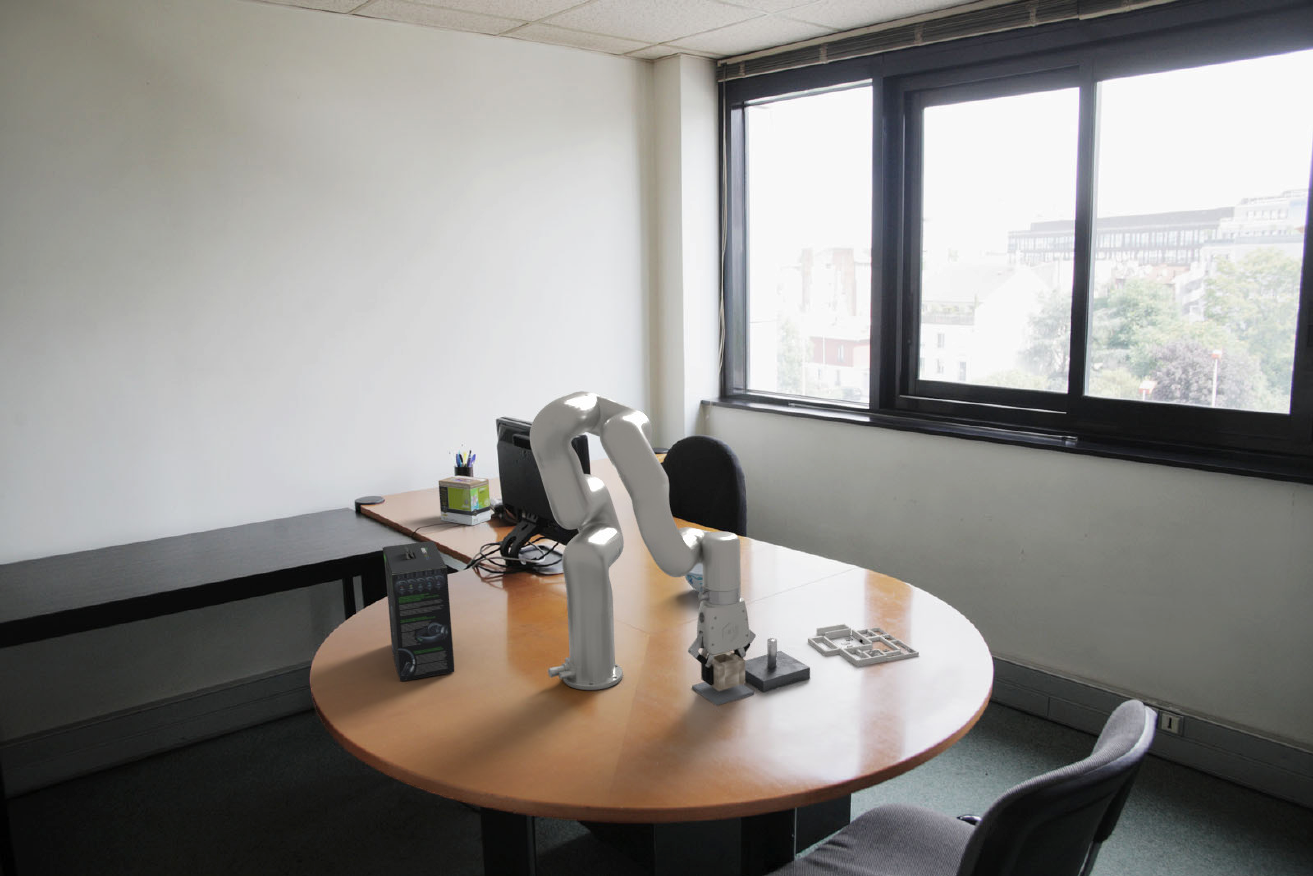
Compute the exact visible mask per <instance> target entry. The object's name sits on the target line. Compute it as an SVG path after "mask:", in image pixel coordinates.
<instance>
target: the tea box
mask: <svg viewBox="0 0 1313 876" xmlns="http://www.w3.org/2000/svg"><path fill="white" fill-rule="evenodd" d="M489 481H490V480H489V478H483V477H482V478H481V477H474V476H466V475H454V476H451V477H447V478H443V479H439V480H438V492H439V493H438V494H439V496H438V497H439V509H440V519H441V520H440V521H443V522H448V523H455V524H461V525H466V526H467V525H468V526H475V525H479V524H481V523H485V522H488V521H491V518H492V517H491V500H490V499H491V497H490V495H491V494H490V483H489Z"/></svg>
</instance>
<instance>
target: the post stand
mask: <svg viewBox="0 0 1313 876" xmlns="http://www.w3.org/2000/svg"><path fill="white" fill-rule="evenodd" d="M766 641H767V645H766V647H767V653H766V654H764V655H760V656H757V657H753V658H750V659H746V660H745V683H748V684H749V685H750V686H752V687H754V688H755V689H756V690H759V691H760V692H762V693H764V694H765V693H767V692H771V691H773V690H777V689H779V688H780V689H781V688H783V687H786V686H787V687H788V686H791V685H794V684H797V683H800V682H804V681H806V680H811V666H809V665H806V664H805V663H803V662H801V661H799V660H798V659H796V658H794V657H793V656H791V655H789V654H787V653H785V652H783V651H782V650H779V651H778V639H777V638H774V637H773V638H771V637H769V638H767V640H766Z"/></svg>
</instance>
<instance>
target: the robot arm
mask: <svg viewBox="0 0 1313 876" xmlns="http://www.w3.org/2000/svg"><path fill="white" fill-rule="evenodd" d="M585 433H588V434H591V435H594V436H597V437H598V438H599V442H600V443H601V446H602V447H601V448H602V449H603V450H604V452H605V454H606V456H607V457H608V460H609V461H610V463H611V465H612V466H613V468H614V470H615V472H616V474H617V475H618V477H619V479H620V481H621V482H622V484H623V486H624V488H625V490H626V492H627V494H628V495H629V497H630V499H631V504H632V510H633V513H634V517H635V521H636V524H637V528H638V531H639V533H640V536H641V539H642V541H643V543H644V545H645V546H646V548H647V550H648V552H649V553H650V555H651V557H652V559H653V561H654V562H655V565H657V567H658V568H659V569H660V570H661V571H662V572H663V573H664V574H666V575H668V576H669V577H673V578H681V577H685V575H687V574H688V573H690V572H691V571H692V569H693V568H694V567H695V565H697V564H699V563H700V564H702V566H703V588H702V593H700V594H699V593H698V595H697V597H698V600H700V604H699V607H698V608H699V609H698V614H697V627H696V638H695V640H694V641H693V642H692V643H691V645H690V646H689V648H688V650H687V653H688V654H690V655H691V656H692V657H693V658H694V659H695V660H697V661H698V662H699V663H700V664H701V663H702V679H703V680H702V681H703V682H704V681H705V682H706V683H708V684H709V685H713V684H714V670H713V666H711V664H712V661H713V658H714V655H718V654H722V653H725V652H729V651H731V652H732V651H733V653H734V654H736V655H737V656H739V657H741V658H742V659H744V658H746V655H747V651H748V650H749V649H750V648H751V644H752V642H753V641H754V640H755V638H756V634H755V632H754V631H752V630H751V629H750V626H749V625H750V624H749V616H748V610H747V605H746V600H745V598H744V597H742V591H741V590H742V589H741V587H742V586H741V584H742V583H741V580H742V579H741V578H742V576H741V575H742V573H741V540H740V538H739V536H738V535H737V534H736V533H734V532H729V531H721V530H720V531H709V530H704V529H700V528H695V527H691V526H685V527H680V528H678V526H677V524H676V522H675V520H674V517H673V514H672V511H671V507H670V482H669V481H670V480H669V476H668V474H667V473H666V471H665V469H664V467H663V465H662V463H661V462H660V461H659V458H658V457H657V454H656V453H655V452H654V450H653V447H652V446H651V443H649V441H650V439H651V437H652V435H653V427H652V424H651V421H650V420H649V418H648V416H647V415H646V414H644V412H642V411H640V410H638V409H637V408H634V407H631V406H628V405H626V404H624V403H621V402H618V401H615V400H613V399H609V398H608V397H604V396H602V395H599V394H596V393H593V392H591V391H590V392H589V391H576V392H572V393H569V394H568V395H564V396H561V397H559V398H556V399H554V400H552V401H551V402H549V403H548V404H546V405H545V406H544V407H543V408H542V409H540V411H539V412H538V413H537V414H536V416H535V417H534V419H533V420H532V423H531V426H530V430H529V441H530V442H529V443H530V444H529V445H530V448H531V452H532V454H533V457H534V459H535V462H536V465H537V468H538V470H539V474H540V477H541V481H542V485H543V487H544V491H545V494H546V497H547V500H548V502H549V503H548V504H549V507H550V510H551V512H552V516H553V518H554V520H555V521H556V523H557V524H558V525H559V526H560V527H561V528H563V529H565V530H577V531H578V533H577V534H576V535H575V536H573V538H571V540H570V541H569V542H567V544H566V546H565V547H564V549H563V551H562V552H563V553H562V555H561V557H562V558H561V568H562V572H563V577H564V583H565V590H566V591H565V593H566V606H567V607H566V608H567V609H566V610H567V626H568V627H567V629H568V631H567V632H568V650H569V651H568V652H569V653H568V654H569V655H568V657H565V658H564V662H563V663H561V665H558V666H552V667H548V669H547V674H548V676H549V678H555V677H558V678H559V679H560V680H563V682H564V683H565V684H566V685H568V687H571V688H574V689H577V690H583V691H584V690H585V691H596V690H602V689H603V690H604V689H607V688H610V687H613V686H615V685H616V684H618V683H619V682H621V680H622V679H623V677H624V675H623V672H624V671H623V669H622V667H621V666H620V665H619V664H617V663H616V654H615V653H616V652H615V649H616V648H615V624H614V623H615V621H614V620H615V619H614V598H613V589H612V582H611V578H610V568H611V567H612V565H613V564H614V563H616V561H618V559H619V557H621V555H622V553H623V552H624V551H623V550H624V547H625V546H624V544H625V542H624V541H625V540H624V536H623V532H622V528H621V523H620V521H619V518H618V516H617V512H616V509H615V505H614V503H613V499H612V496H611V493H610V491H609V489H608V487H607V486H606V485H605V483H604V481H602V480H601V479H600V478H599V477H597V476H595V475H592V474H588V473H584V470H583V467H582V464H581V463H582V462H581V461H580V458H579V456H578V454H577V452H576V450H575V449H574V448H573V446H572V441H573V440H574V439H575V438H576V437H579V436H580V435H583V434H585ZM700 649H702V650H701V652H699V650H700ZM707 654H708V656H707ZM706 657H707V659H706Z"/></svg>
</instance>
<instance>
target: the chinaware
mask: <svg viewBox="0 0 1313 876" xmlns="http://www.w3.org/2000/svg"><path fill="white" fill-rule="evenodd" d="M684 578H685V579H686V581H687V583H688V584H689V585H690V587H692V588H693V589H694V590H696V591H697V593H698V594H700V593H702V588H703V566H702V564H700V563H699V564H697V565H695V567H694V568H693V569H692V571H691V572H690V573H688V574H687V575H685V576H684Z"/></svg>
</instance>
